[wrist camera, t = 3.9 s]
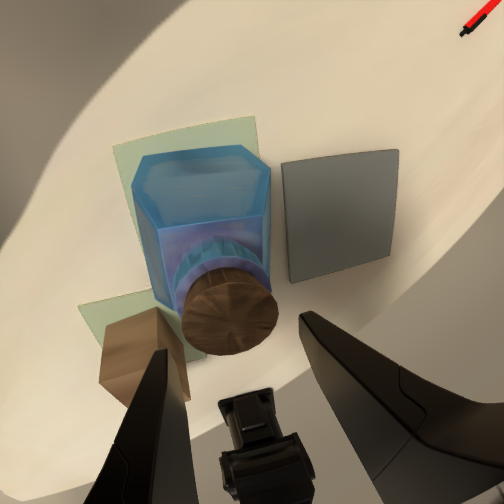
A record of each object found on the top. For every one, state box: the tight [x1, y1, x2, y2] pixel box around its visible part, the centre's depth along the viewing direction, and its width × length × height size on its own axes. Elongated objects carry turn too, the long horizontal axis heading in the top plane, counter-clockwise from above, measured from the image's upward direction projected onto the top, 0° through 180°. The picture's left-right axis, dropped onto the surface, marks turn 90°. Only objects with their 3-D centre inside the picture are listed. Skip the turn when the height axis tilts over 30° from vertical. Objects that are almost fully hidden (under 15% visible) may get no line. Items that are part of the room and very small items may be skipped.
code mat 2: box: [78, 289, 207, 362], centre depth 24 cm, size 9×9×1 cm
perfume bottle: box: [131, 144, 279, 356], centre depth 15 cm, size 6×6×12 cm
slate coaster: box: [281, 149, 399, 284], centre depth 23 cm, size 10×10×1 cm
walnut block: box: [99, 306, 191, 408], centre depth 22 cm, size 5×5×6 cm
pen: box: [459, 0, 502, 37], centre depth 15 cm, size 1×19×1 cm, turn 135°
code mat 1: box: [113, 116, 259, 256], centre depth 20 cm, size 9×9×1 cm
